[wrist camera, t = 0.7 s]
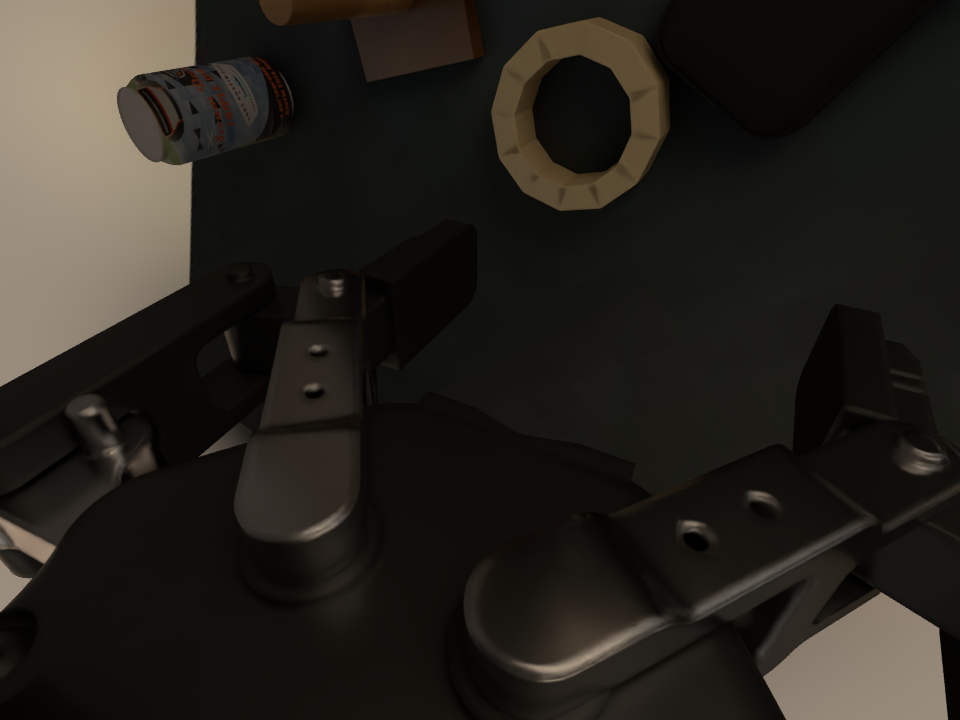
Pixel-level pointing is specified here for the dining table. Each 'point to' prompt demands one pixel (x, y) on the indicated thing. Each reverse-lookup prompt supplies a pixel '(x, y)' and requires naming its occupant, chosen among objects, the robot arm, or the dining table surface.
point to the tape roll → (516, 118)
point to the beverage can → (205, 109)
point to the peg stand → (394, 30)
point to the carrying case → (778, 53)
